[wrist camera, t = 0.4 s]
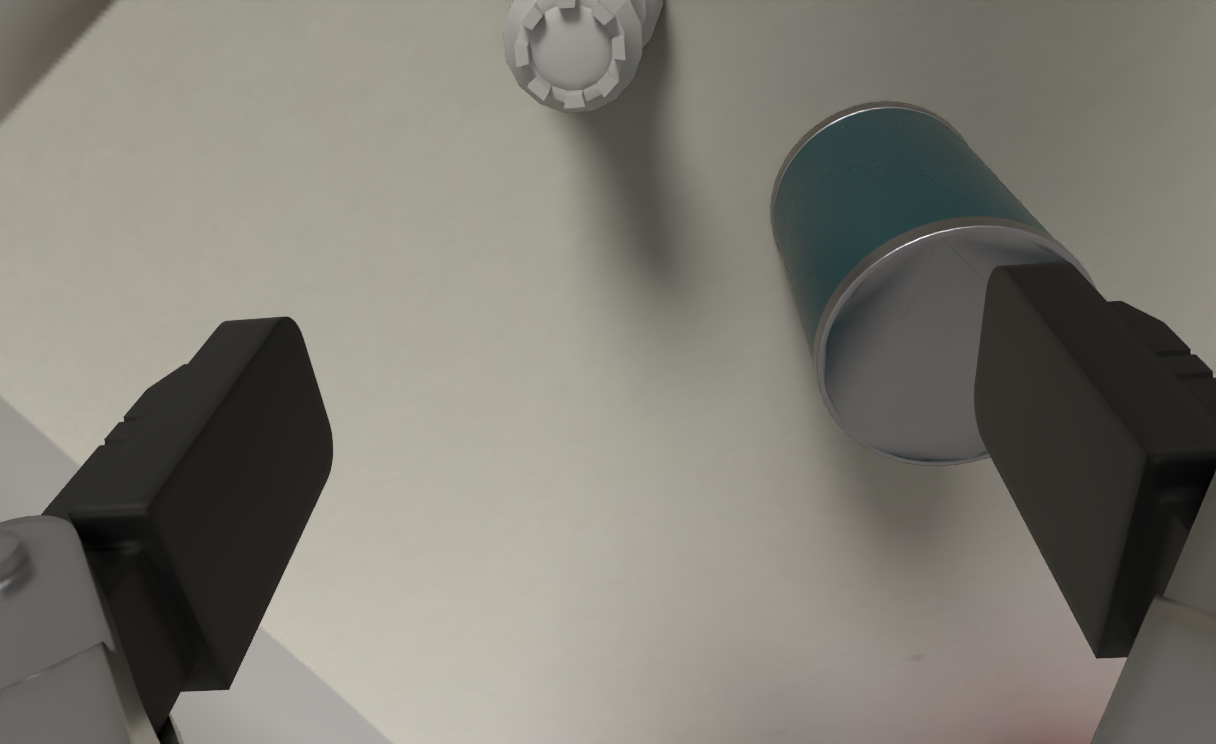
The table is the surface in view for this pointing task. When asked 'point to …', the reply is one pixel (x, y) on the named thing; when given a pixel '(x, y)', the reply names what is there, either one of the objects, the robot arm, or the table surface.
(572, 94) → the rook chess piece
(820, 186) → the tin can
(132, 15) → the table surface
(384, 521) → the table surface
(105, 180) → the table surface
